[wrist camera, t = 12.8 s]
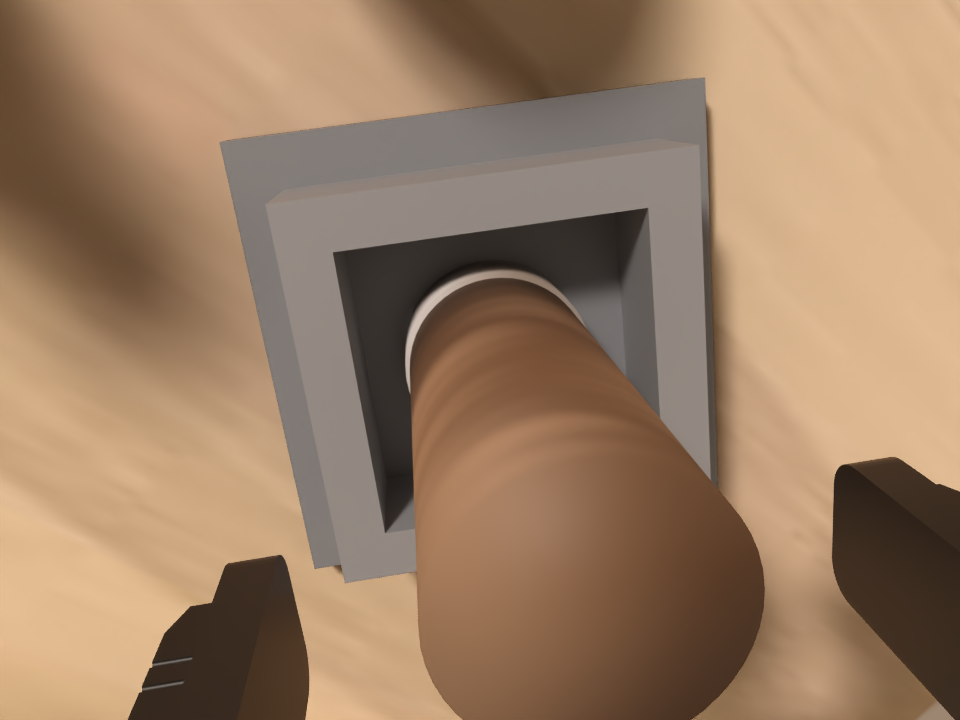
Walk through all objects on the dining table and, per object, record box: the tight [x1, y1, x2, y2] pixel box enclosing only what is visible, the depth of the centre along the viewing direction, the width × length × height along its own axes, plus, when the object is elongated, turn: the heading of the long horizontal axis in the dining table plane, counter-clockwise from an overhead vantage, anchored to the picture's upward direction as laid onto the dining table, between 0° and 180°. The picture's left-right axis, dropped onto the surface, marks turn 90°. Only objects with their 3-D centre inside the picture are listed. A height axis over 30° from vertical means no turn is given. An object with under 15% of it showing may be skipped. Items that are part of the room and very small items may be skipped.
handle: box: [405, 261, 765, 720], centre depth 16 cm, size 5×5×12 cm
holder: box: [220, 78, 718, 583], centre depth 20 cm, size 12×12×4 cm
